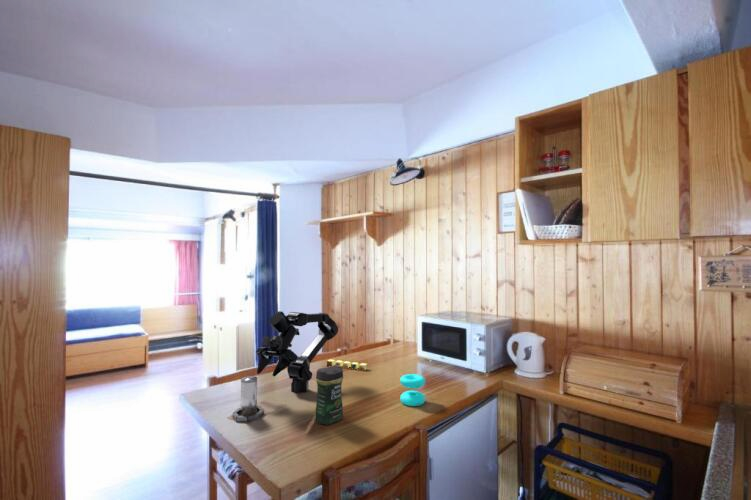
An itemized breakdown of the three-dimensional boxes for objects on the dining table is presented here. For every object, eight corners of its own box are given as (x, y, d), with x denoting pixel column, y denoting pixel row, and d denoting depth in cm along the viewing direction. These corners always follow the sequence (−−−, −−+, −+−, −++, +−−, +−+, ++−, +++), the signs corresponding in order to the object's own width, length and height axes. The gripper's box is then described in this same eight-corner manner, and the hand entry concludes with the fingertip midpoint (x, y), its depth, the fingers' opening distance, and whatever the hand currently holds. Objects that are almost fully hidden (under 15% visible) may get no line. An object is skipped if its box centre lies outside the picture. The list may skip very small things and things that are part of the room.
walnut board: (266, 402, 138) (266, 399, 138) (287, 407, 133) (287, 404, 133) (226, 421, 122) (226, 417, 122) (247, 428, 116) (247, 424, 116)
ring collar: (267, 410, 128) (267, 406, 128) (255, 422, 118) (255, 417, 118) (241, 409, 129) (241, 405, 129) (227, 421, 119) (228, 416, 119)
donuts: (429, 379, 136) (407, 382, 132) (430, 404, 135) (407, 409, 131) (417, 371, 145) (395, 374, 141) (417, 395, 145) (396, 399, 141)
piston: (259, 412, 126) (259, 376, 127) (252, 419, 121) (253, 381, 121) (244, 411, 127) (245, 375, 127) (237, 418, 121) (238, 381, 122)
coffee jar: (326, 427, 116) (326, 372, 117) (311, 420, 122) (312, 367, 123) (347, 418, 123) (347, 366, 124) (332, 412, 129) (332, 362, 130)
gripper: (257, 327, 141) (236, 362, 132) (288, 328, 131) (267, 366, 121) (274, 342, 148) (255, 376, 138) (305, 344, 137) (286, 381, 128)
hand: (265, 374), depth 131 cm, fingers open, 9 cm apart
